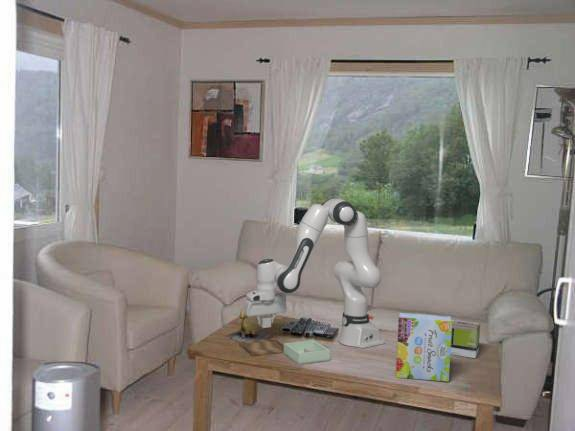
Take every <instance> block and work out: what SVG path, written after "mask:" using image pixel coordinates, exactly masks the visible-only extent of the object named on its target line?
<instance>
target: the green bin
mask: <svg viewBox="0 0 575 431" xmlns="http://www.w3.org/2000/svg"><path fill="white" fill-rule="evenodd" d="M283 344H284V352H283V353H282V354H283V355H284V356H286V357H287V358H289V360H291V361H292V362H294V363H295V364H296V365H298V366H303V365H309V364H317V363H326V362H330V360H331V350H330V349H329V348H327V347H325V346H324V345H322V344H320V343H319V342H318V341H316V340H313V339H311V340H302V341H294V342H285V343H283ZM309 347H312V348H314V349H316V351H314V352H305V353H304V348H309Z"/></svg>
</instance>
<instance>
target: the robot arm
mask: <svg viewBox="0 0 575 431" xmlns="http://www.w3.org/2000/svg"><path fill="white" fill-rule="evenodd" d="M331 222H334V223H337V224H339V225H341V226H342V225H343V230H344V231H343V233H344V236H343V237H344V251H345V253H346V254H347V256H349V257H350V259H351V260H340V261H338V262H337V263H336V264H335V266H334V268H333V269H334V270H333V273H334V277H335V278H336V279H337V280H338V283H339V284H340V287H341V290H342V293H343V312H342V316H341V317H342V320H341V321H342V322H341V323H342V324H341V325H342V327H341V332H340V336H339V339H338V342H339V343H340V344H342V345H344V346H348V347H349V346H350V347H355V348H361V349H365V348H371V347H374V346H378V345H383V344H385V343H386V342H385V339H384V338H382V337H381V333H380V332H381V331H380V329H379V328H378V327H377V326H376V325H375V324H373V323H372V321H373V320H374V319H375V316H374V315H372V314H368V313H367V312H368V297H367V295H366V294H365V293H364V292H363V290H362V288H364V289H374V288H377V287H378V286H379V285H380V283H381V282H382V272H381V270H380V269H379V268H378V267H377V265H375V263H374V261H373V258H372V256H371V253H370V248H369V232H368V231H369V229H368V223H367V217H366V215H365V214H364V213H363V212H362V211H358V210H356V208H355V207H354V205H353V204H352V203H351V202H349V201H347V200H345V199H343V198H338V197H330V198H328V199H326V200H325V201H324V202H322V203H321V204H319V203H314V204H312V205H311V206H310V207H309V208H308V210H307V211H306V212H305V214H304V215H303V217H302V219H301V220H300V222H299V224H298V226H297V228H296V232H295V240H296V249H295V253H294V255H293V256H292V259H291V261H290V263H289V265H285V264H282V263H279V262H277V261H276V260H275V259H273V258H266V259H263V260H262V259H261V260H260V261H259V262H258V263H257V266H256V275H255V276H256V277H255V278H256V286H255V287H256V288H255V289H254V290H252V291H250V292H248V293H246V294H245V297H246V300H245V301H244V306H243V309H244V314H245V315H246V316H248V317H255V318H256V319H257V320H256V321H257V325H259V326H260V324H262V320H260V317H261V316H266V315H267V316H268V315H271V316H270V318H271V324H273V323H274V319H275V318H276V314H282V313H283V314H285V313H286V312H287V294H292V293H294V292H296V291H297V290H298V289H299V287H300V285H301V278H302V273H303V271H304V268H305V267H306V264H307V262H308V260H309V258H310V256H311V253H312V251H313V250H314V248H315V245H316V244H317V242H318V241H319V238H320V237H321V236H322V233H323V232H324V229H325V228H326V226H327V224H329V223H331ZM276 287H278V289H279V290H280V291H281V292H276ZM370 320H372V321H370Z"/></svg>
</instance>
